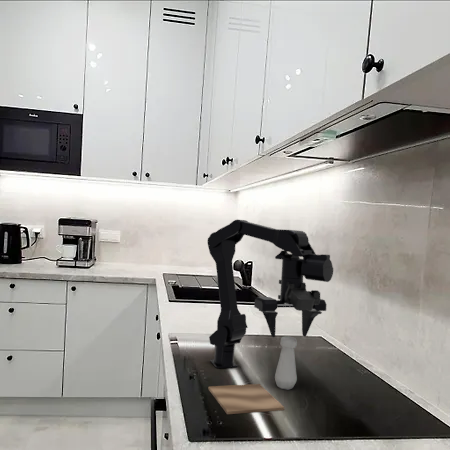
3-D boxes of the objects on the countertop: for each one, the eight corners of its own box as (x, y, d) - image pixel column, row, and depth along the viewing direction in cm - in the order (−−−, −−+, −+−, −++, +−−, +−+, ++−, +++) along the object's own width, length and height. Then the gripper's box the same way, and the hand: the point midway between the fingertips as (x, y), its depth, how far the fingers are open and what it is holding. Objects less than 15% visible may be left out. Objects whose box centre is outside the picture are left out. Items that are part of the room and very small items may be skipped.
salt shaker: (293, 383, 114) (297, 335, 114) (298, 391, 108) (302, 341, 108) (272, 381, 113) (276, 333, 113) (275, 390, 108) (280, 339, 108)
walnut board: (208, 388, 105) (208, 386, 105) (259, 386, 109) (259, 383, 109) (227, 414, 91) (227, 411, 91) (284, 409, 96) (284, 407, 96)
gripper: (273, 280, 100) (270, 346, 100) (340, 282, 106) (336, 343, 106) (255, 275, 111) (251, 334, 110) (316, 277, 117) (313, 333, 116)
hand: (288, 336), depth 110 cm, fingers open, 9 cm apart
